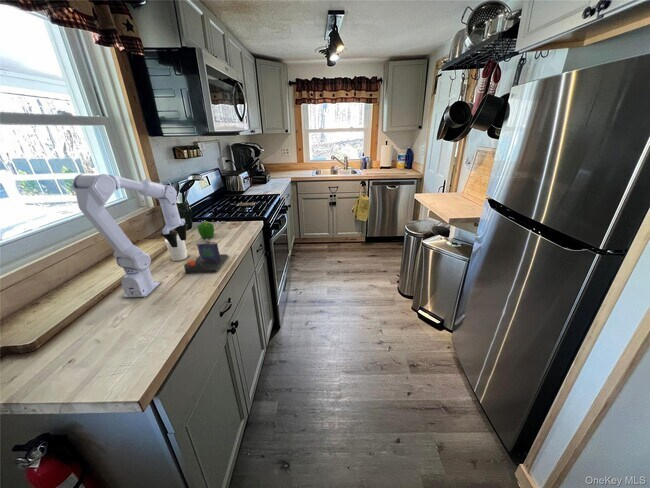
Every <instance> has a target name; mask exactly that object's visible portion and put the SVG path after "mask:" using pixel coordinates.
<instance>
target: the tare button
mask: <svg viewBox="0 0 650 488" xmlns="http://www.w3.org/2000/svg"><path fill="white" fill-rule="evenodd" d="M195 260H196V259H190V260H187V262H186V263H187V264H188V266H194V265H195Z"/></svg>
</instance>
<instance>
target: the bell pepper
mask: <svg viewBox="0 0 650 488" xmlns="http://www.w3.org/2000/svg"><path fill="white" fill-rule="evenodd" d="M197 231H198V234H199V235H200V238H201V239H203V240H205V239H207V238H208V239H212V238H214V237H215V226H214V224H212V222H209V221H207V220H206V221H204V222H203V223H201V224H197Z"/></svg>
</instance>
